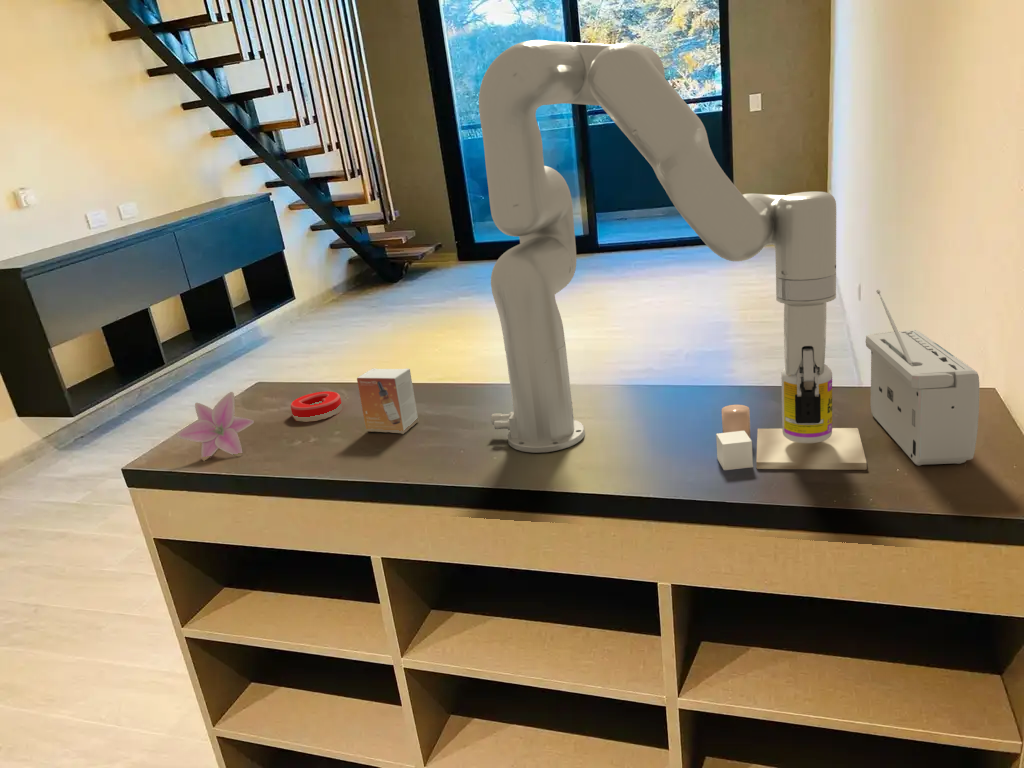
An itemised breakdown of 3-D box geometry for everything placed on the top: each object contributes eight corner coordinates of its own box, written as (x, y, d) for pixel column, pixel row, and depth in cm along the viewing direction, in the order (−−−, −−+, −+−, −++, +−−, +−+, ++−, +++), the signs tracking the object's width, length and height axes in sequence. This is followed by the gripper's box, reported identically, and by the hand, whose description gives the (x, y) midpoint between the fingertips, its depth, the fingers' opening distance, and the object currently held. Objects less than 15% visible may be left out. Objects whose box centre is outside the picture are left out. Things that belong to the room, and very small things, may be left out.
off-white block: (723, 470, 113) (722, 444, 112) (717, 459, 117) (716, 433, 116) (752, 467, 113) (751, 441, 112) (745, 456, 117) (744, 430, 115)
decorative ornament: (290, 413, 162) (287, 398, 161) (338, 401, 165) (335, 387, 164) (296, 427, 154) (293, 411, 153) (346, 415, 157) (343, 399, 156)
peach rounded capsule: (722, 445, 121) (720, 414, 119) (723, 435, 125) (722, 404, 123) (750, 445, 120) (749, 414, 118) (750, 435, 123) (749, 404, 122)
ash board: (756, 468, 112) (756, 462, 112) (757, 434, 123) (757, 428, 123) (866, 469, 108) (866, 462, 108) (857, 434, 119) (857, 428, 118)
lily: (177, 465, 145) (164, 430, 138) (211, 418, 153) (201, 383, 146) (238, 482, 144) (228, 448, 137) (270, 434, 152) (262, 399, 145)
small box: (365, 433, 145) (354, 377, 142) (381, 421, 150) (371, 367, 147) (404, 434, 142) (394, 378, 139) (419, 422, 147) (410, 367, 144)
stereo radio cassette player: (978, 467, 105) (987, 317, 99) (911, 472, 106) (915, 324, 100) (918, 409, 124) (922, 282, 118) (862, 414, 126) (863, 287, 119)
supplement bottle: (835, 444, 111) (836, 355, 107) (785, 446, 112) (783, 358, 108) (828, 425, 117) (828, 340, 113) (780, 427, 119) (778, 343, 114)
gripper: (775, 275, 117) (777, 391, 123) (776, 305, 101) (779, 437, 107) (831, 272, 115) (831, 390, 120) (841, 302, 99) (840, 437, 105)
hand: (806, 411), depth 114 cm, fingers closed on supplement bottle, 6 cm apart
